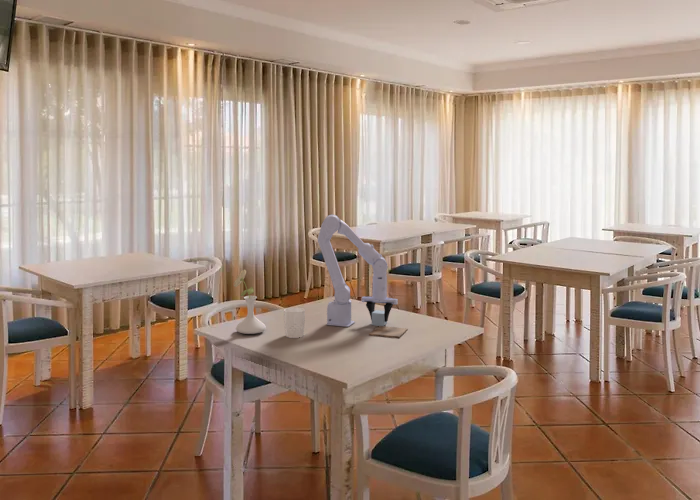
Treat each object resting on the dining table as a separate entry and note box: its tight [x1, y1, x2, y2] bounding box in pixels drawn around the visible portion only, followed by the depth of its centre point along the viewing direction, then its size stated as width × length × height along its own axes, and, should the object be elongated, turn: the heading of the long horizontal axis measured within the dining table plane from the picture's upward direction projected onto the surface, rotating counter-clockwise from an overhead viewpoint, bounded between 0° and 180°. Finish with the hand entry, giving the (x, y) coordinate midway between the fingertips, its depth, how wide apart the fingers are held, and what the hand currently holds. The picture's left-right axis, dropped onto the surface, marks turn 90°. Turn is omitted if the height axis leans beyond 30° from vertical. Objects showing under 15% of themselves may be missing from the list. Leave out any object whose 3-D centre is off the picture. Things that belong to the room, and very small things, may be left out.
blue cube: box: [371, 309, 388, 327], centre depth 254 cm, size 5×5×5 cm
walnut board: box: [368, 325, 409, 339], centre depth 242 cm, size 12×12×1 cm
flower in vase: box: [233, 269, 267, 335], centre depth 240 cm, size 13×11×25 cm
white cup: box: [283, 307, 306, 339], centre depth 237 cm, size 8×8×10 cm
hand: (379, 320), depth 254 cm, fingers closed on blue cube, 5 cm apart
